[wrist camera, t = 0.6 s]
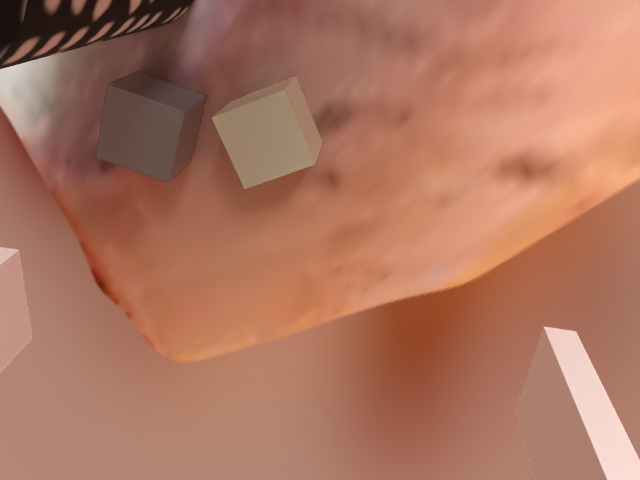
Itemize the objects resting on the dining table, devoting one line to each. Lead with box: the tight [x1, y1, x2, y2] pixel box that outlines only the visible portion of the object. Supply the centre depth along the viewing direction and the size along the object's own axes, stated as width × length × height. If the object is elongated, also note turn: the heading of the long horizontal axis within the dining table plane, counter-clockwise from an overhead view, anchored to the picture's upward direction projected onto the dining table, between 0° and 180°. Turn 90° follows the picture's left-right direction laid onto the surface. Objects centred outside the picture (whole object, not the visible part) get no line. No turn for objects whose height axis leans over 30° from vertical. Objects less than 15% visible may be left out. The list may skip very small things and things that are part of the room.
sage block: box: [211, 75, 323, 189], centre depth 38 cm, size 5×5×5 cm
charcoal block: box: [96, 71, 207, 183], centre depth 39 cm, size 5×5×5 cm
